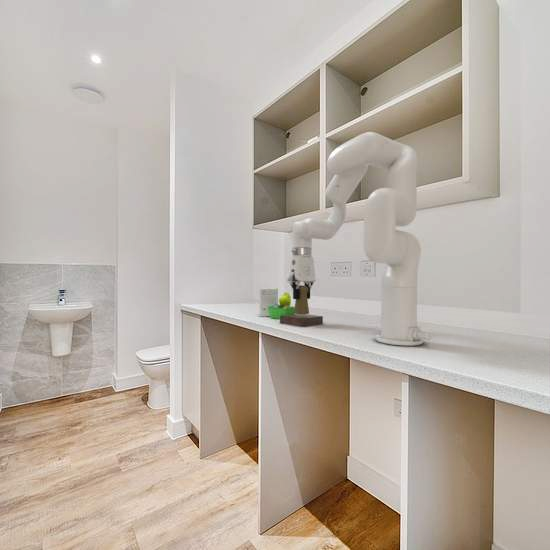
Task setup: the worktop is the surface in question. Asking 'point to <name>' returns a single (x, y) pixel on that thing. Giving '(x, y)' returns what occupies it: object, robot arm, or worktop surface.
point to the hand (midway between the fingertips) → (301, 298)
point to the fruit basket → (282, 307)
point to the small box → (267, 300)
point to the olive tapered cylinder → (302, 301)
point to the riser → (301, 319)
